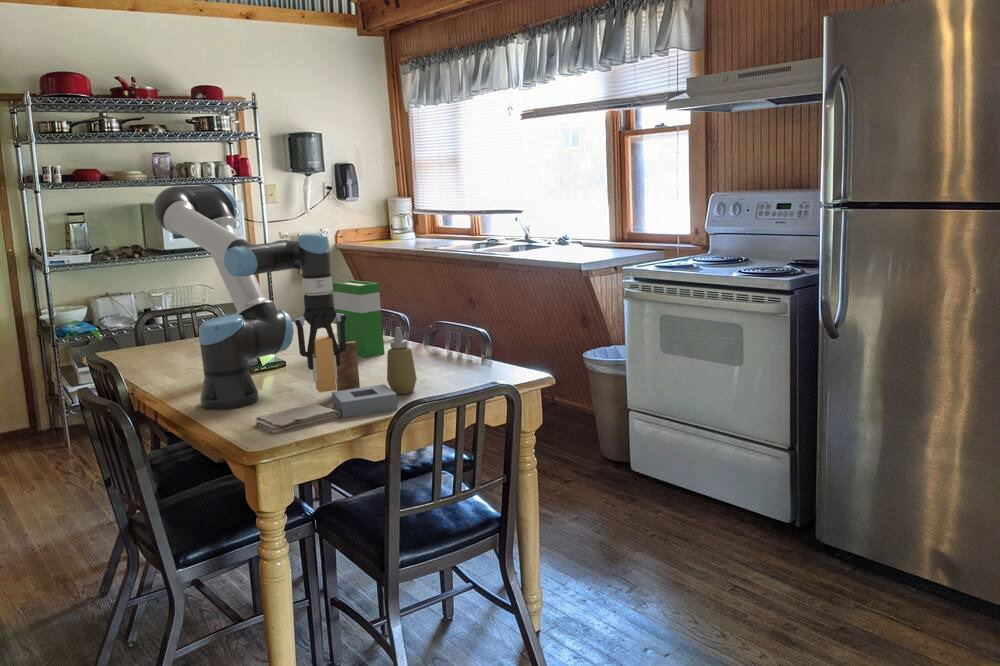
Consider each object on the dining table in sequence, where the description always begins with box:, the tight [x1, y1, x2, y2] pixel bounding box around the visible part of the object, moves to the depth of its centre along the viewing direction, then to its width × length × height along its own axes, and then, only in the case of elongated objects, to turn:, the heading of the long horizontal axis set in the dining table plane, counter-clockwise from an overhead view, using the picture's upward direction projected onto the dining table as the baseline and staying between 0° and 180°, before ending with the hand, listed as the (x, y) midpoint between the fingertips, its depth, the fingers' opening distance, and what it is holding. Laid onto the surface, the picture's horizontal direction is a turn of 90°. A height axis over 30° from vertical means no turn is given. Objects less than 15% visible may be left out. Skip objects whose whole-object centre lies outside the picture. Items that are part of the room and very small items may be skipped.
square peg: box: [313, 335, 337, 393], centre depth 223 cm, size 4×4×14 cm
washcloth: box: [254, 403, 341, 434], centre depth 207 cm, size 12×18×3 cm, turn 130°
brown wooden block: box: [335, 341, 361, 391], centre depth 233 cm, size 6×2×14 cm, turn 112°
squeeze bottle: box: [386, 326, 417, 395], centre depth 229 cm, size 8×8×18 cm
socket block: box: [331, 383, 399, 419], centre depth 216 cm, size 14×12×4 cm
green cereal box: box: [332, 279, 385, 359], centre depth 285 cm, size 18×7×24 cm, turn 40°
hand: (325, 379), depth 224 cm, fingers closed on square peg, 4 cm apart
